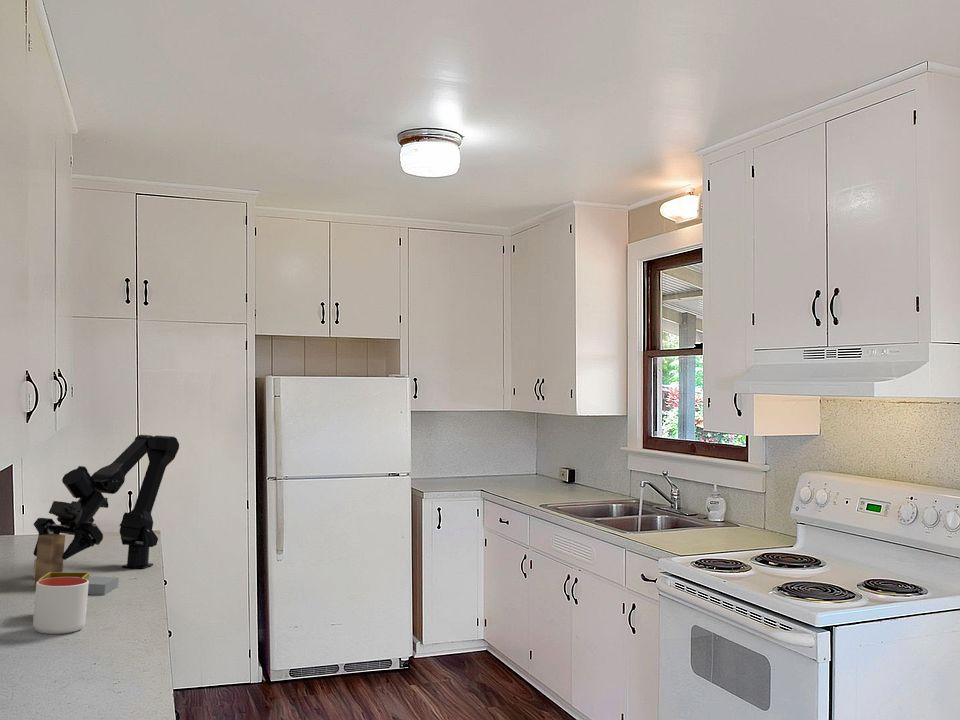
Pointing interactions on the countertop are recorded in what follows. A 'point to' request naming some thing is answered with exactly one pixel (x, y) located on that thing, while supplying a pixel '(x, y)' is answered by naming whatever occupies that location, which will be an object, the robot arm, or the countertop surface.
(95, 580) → the grey base block
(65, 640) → the countertop surface
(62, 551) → the walnut block
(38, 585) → the cup
